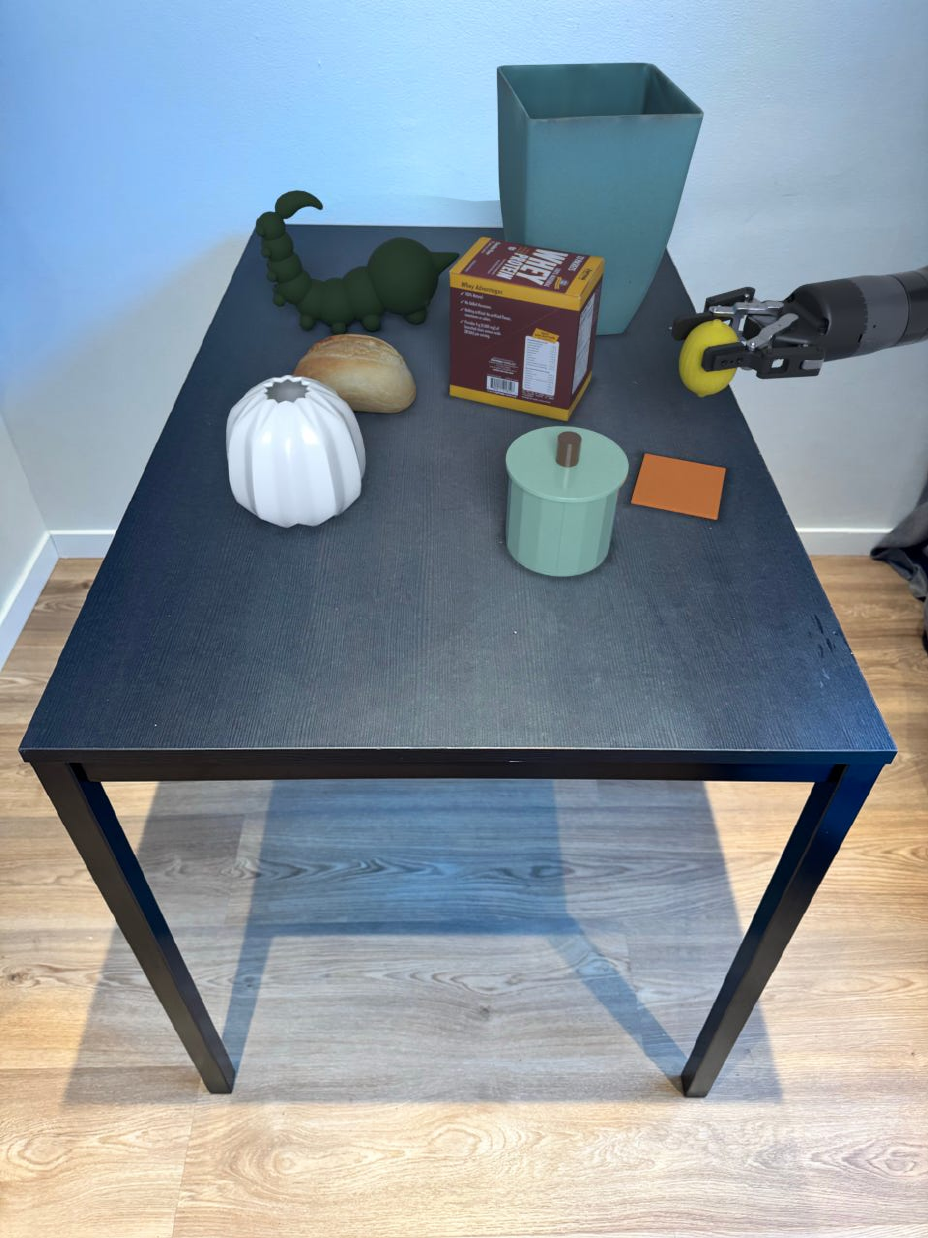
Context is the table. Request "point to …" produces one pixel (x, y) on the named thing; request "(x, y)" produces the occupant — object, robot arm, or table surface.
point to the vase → (294, 452)
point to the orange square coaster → (679, 486)
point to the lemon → (693, 354)
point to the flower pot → (595, 168)
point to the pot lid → (567, 464)
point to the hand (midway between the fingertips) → (689, 344)
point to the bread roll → (361, 372)
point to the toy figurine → (349, 275)
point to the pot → (558, 532)
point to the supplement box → (523, 326)
